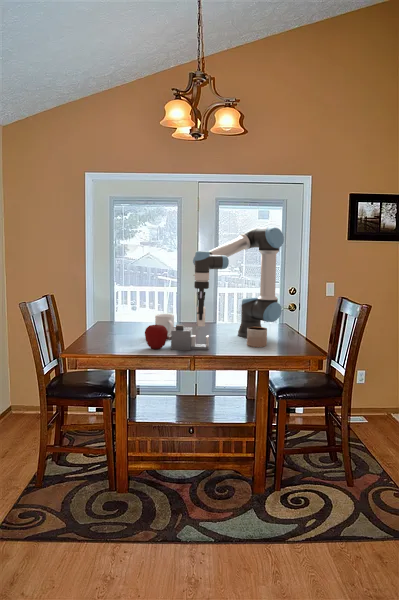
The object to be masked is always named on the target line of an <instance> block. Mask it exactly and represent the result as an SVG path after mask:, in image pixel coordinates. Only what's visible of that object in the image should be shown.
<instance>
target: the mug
mask: <svg viewBox="0 0 399 600" xmlns="http://www.w3.org/2000/svg"><path fill="white" fill-rule="evenodd" d="M154 318H155V320H154V322H155V324H154V325H163V326H164V327H165V328H166V329H167V331H168V335H167V336H171V330H172V329H173V327H175V315H174V314H171V313H160V314H159V313H158V314H157V313H156V314H155V317H154Z"/></svg>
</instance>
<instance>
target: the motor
mask: <svg viewBox="0 0 399 600" xmlns="http://www.w3.org/2000/svg"><path fill="white" fill-rule="evenodd" d="M196 335H197V334H193V326H190V327H187V326H185V325H184V324H176V325H175V326H174V327H173V329H172V330H171V336H167V340H166V341H170V350H171V351H191V350H192V351H193V350H197V351H198V350H199V351H201V350H202V351H204V350H205V351H209V349H210V348H209V347H210V335H209V334H208V335H206V336H205V338H206V339H205V340H206V341H205V343H197V342H196V341H197V340H196V337H197V336H196Z"/></svg>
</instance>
